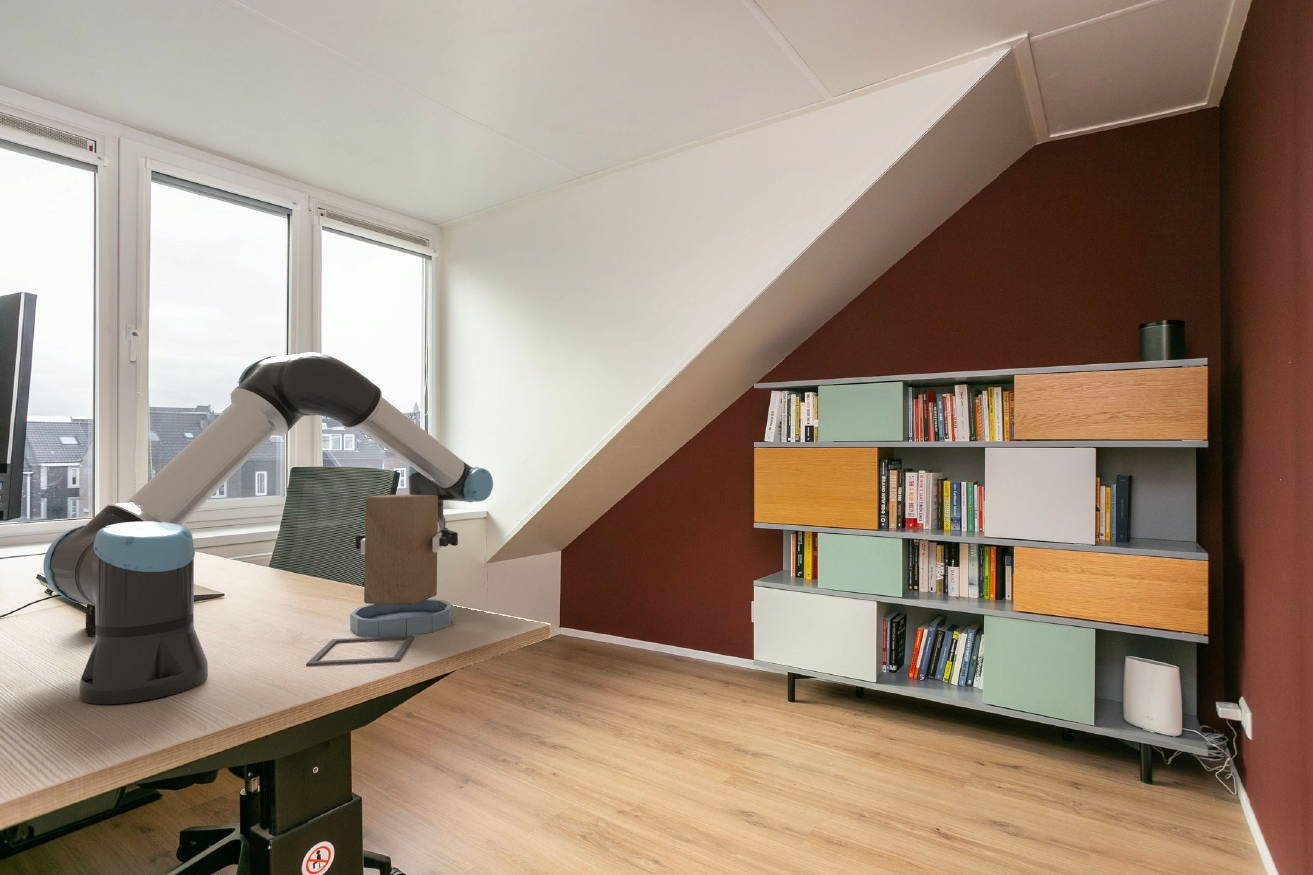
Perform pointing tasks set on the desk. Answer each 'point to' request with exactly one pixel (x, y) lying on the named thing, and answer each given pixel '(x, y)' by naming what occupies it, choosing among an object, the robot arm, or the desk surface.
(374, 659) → the dark grey square frame
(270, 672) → the desk surface
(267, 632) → the desk surface
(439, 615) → the dish
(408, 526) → the wooden block
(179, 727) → the desk surface
